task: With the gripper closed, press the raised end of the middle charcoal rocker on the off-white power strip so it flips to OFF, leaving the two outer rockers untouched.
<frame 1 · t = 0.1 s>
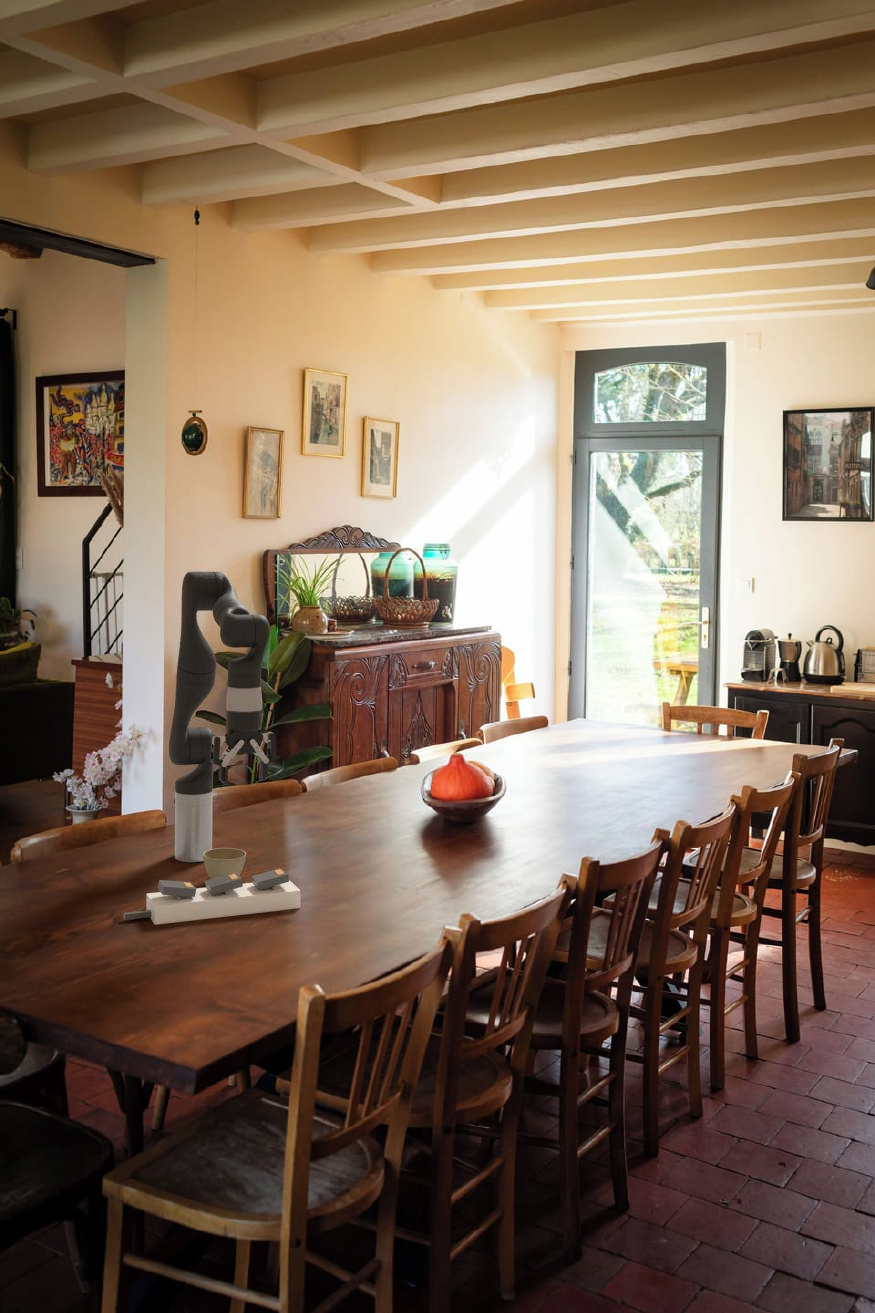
hand: (243, 781, 252), 29 cm above the table, fingers open, 8 cm apart
rocker 2: (223, 883, 256), point 6 cm above the table, hinge at 10.0°
power strip: (224, 909, 257), on the table
rocker 3: (270, 878, 260), point 6 cm above the table, hinge at 10.0°
flower pot: (224, 883, 276), on the table
rocker 1: (177, 888, 252), point 6 cm above the table, hinge at -10.0°
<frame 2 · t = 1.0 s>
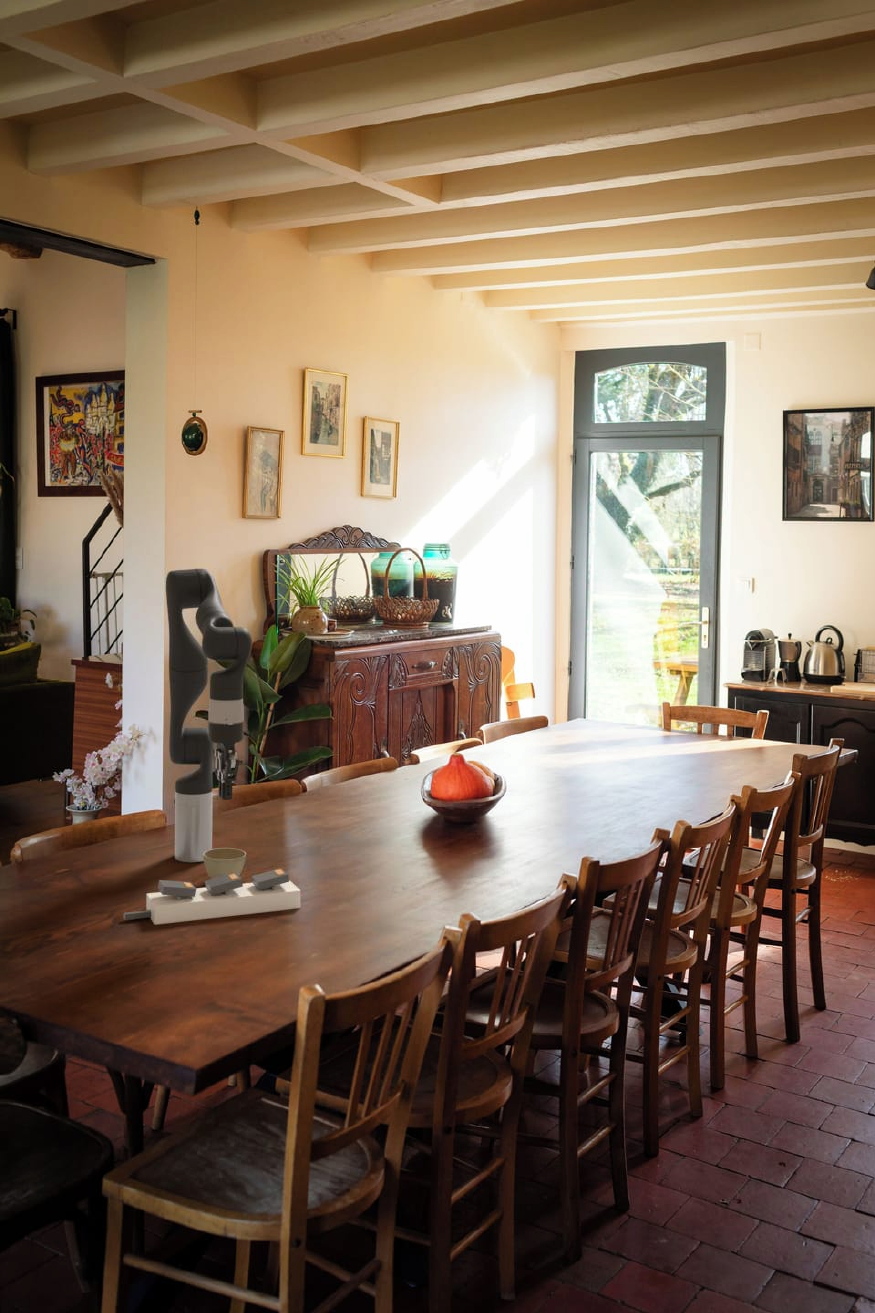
hand: (225, 797, 254), 25 cm above the table, fingers closed
nothing on the table moved.
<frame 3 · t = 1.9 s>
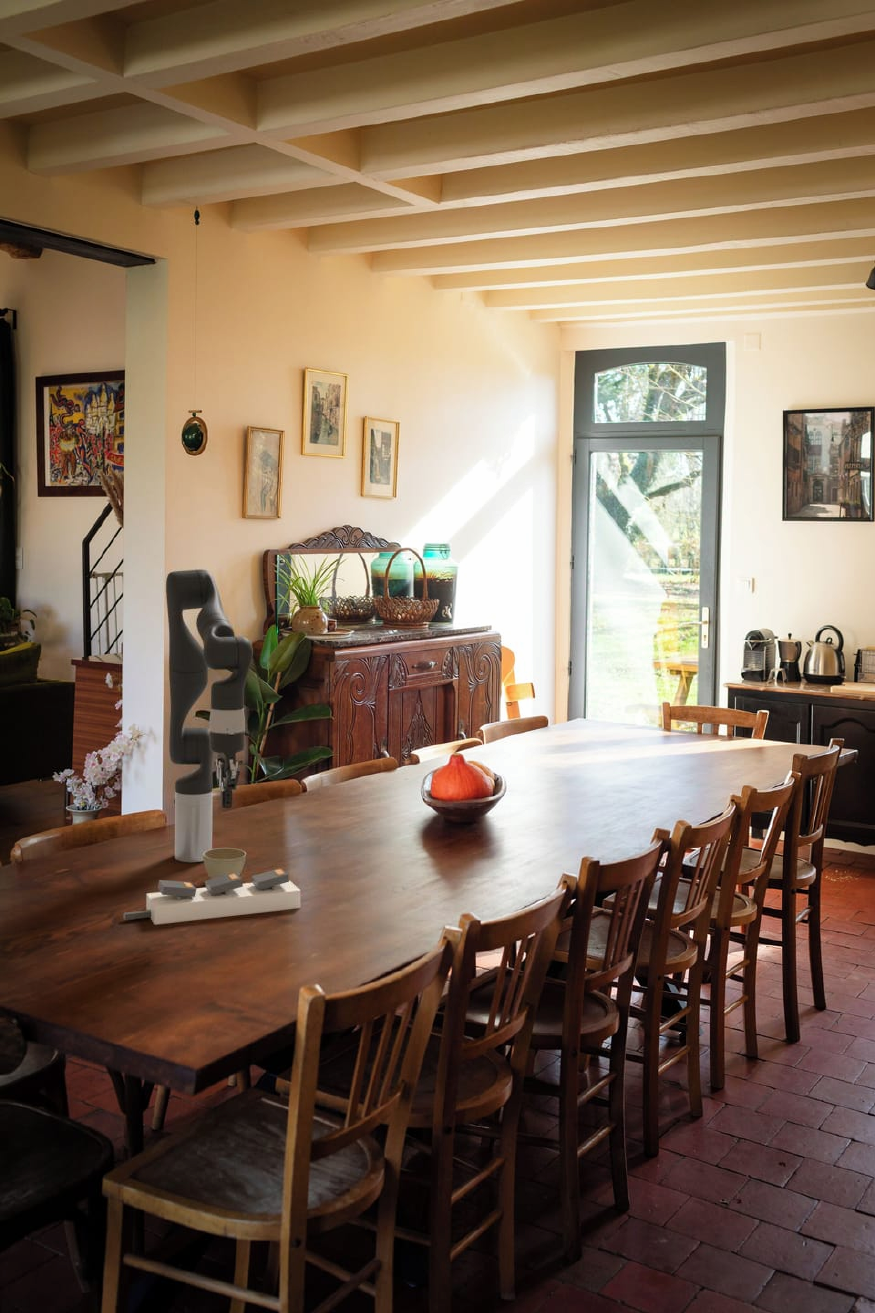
hand: (226, 807, 254), 23 cm above the table, fingers closed
nothing on the table moved.
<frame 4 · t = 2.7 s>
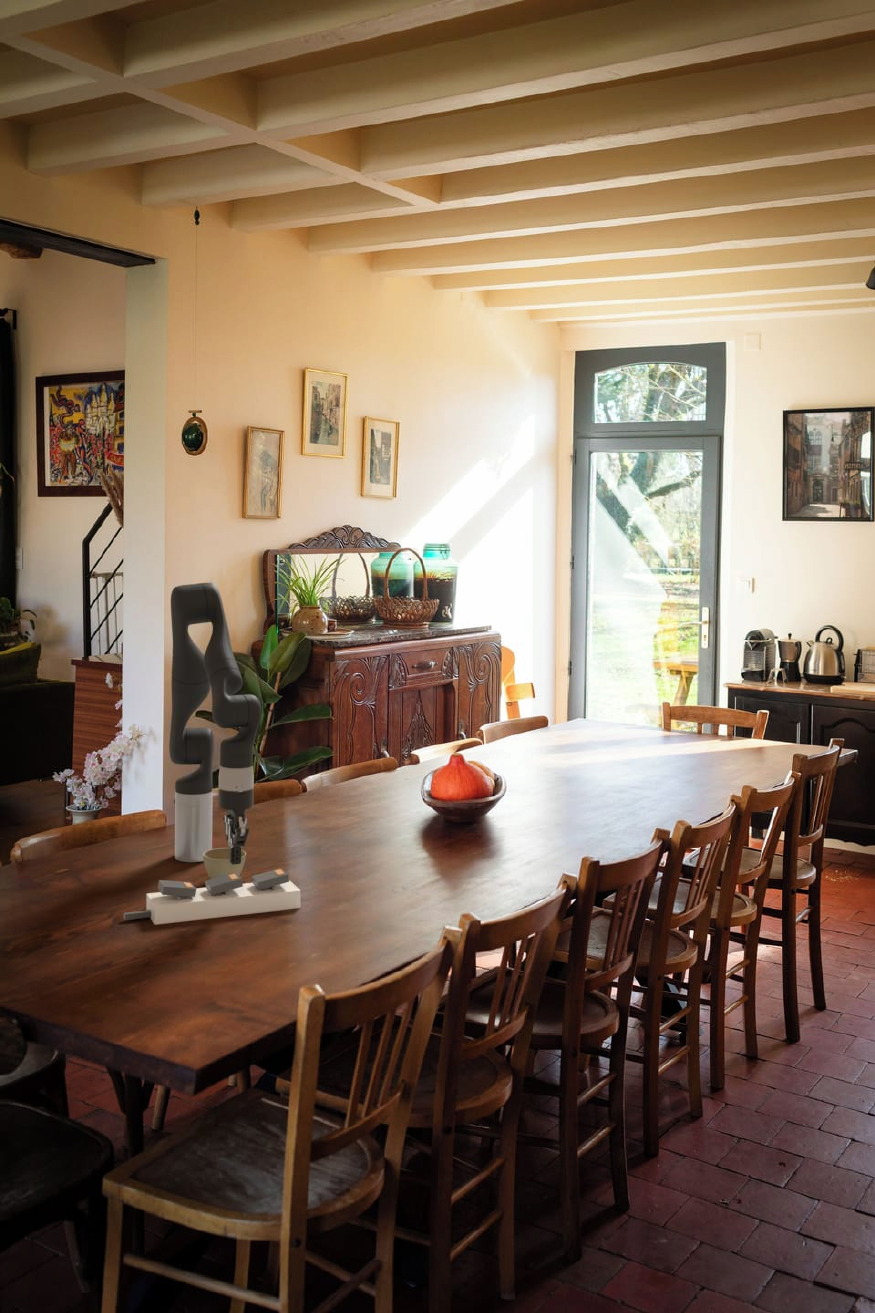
hand: (235, 863, 256), 10 cm above the table, fingers closed
nothing on the table moved.
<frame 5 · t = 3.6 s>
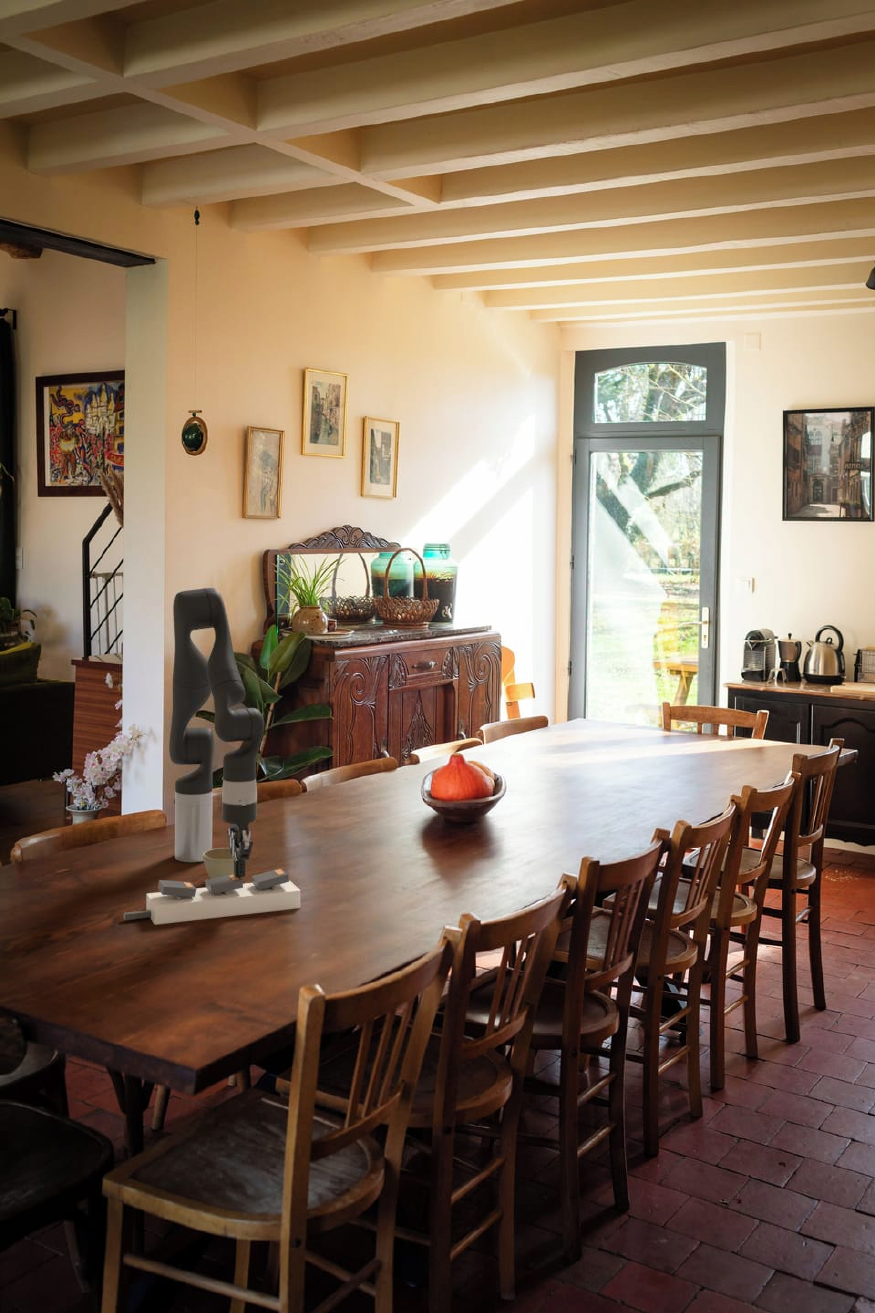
hand: (239, 876, 257), 7 cm above the table, fingers closed
rocker 2: (224, 883, 256), point 6 cm above the table, hinge at 5.6°, touching gripper
everything else where it was.
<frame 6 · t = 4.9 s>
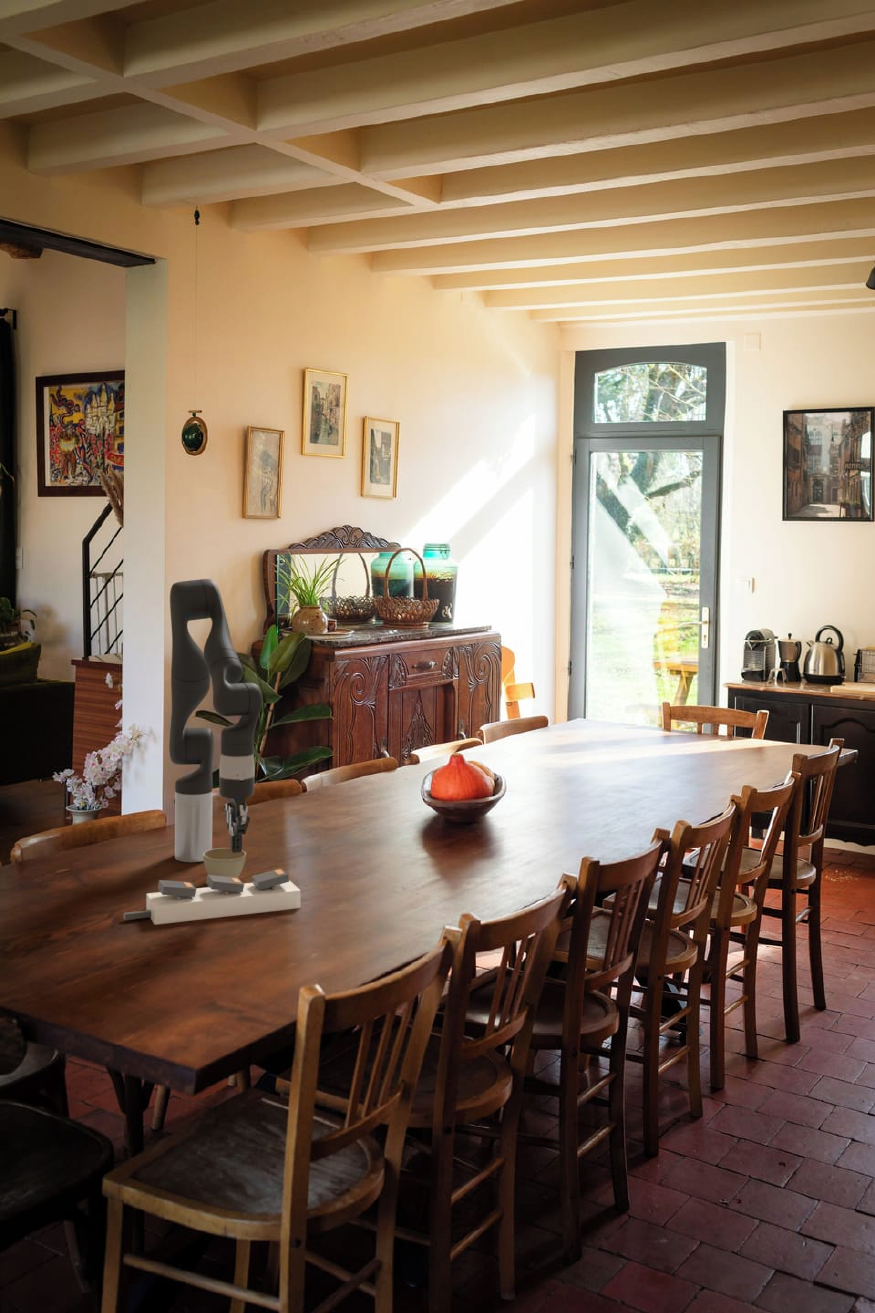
hand: (236, 851, 256), 13 cm above the table, fingers closed
rocker 2: (225, 883, 256), point 6 cm above the table, hinge at -11.7°
everything else where it was.
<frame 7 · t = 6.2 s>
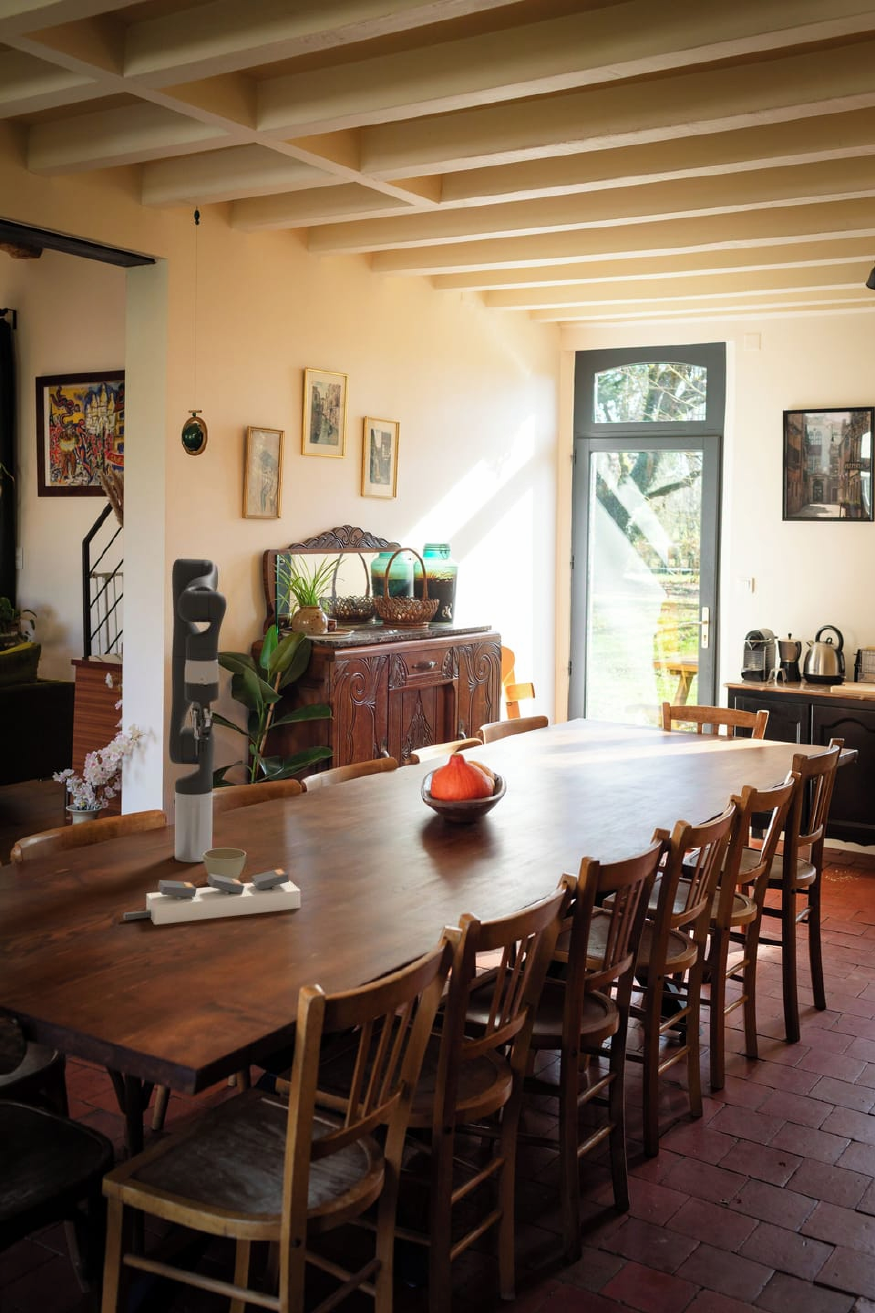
hand: (201, 755, 265), 32 cm above the table, fingers closed
rocker 2: (225, 883, 256), point 6 cm above the table, hinge at -18.0°, touching power strip
everything else where it was.
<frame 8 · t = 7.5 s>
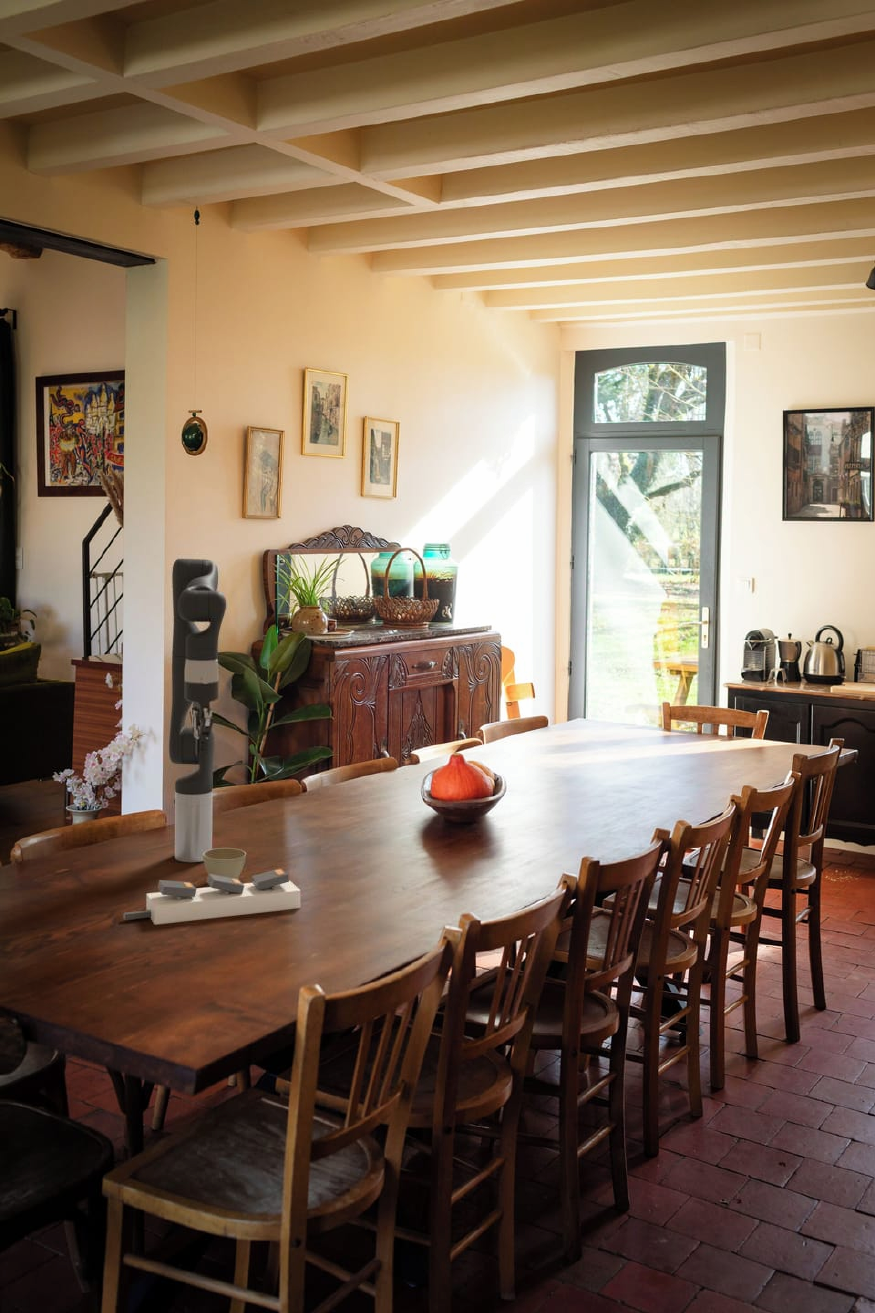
hand: (201, 754, 265), 32 cm above the table, fingers closed
rocker 2: (225, 883, 256), point 6 cm above the table, hinge at -16.4°
everything else where it was.
at the end: rocker 2 at -16° (first picture: +10°); rocker 3 at +10° (first picture: +10°); rocker 1 at -10° (first picture: -10°) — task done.
